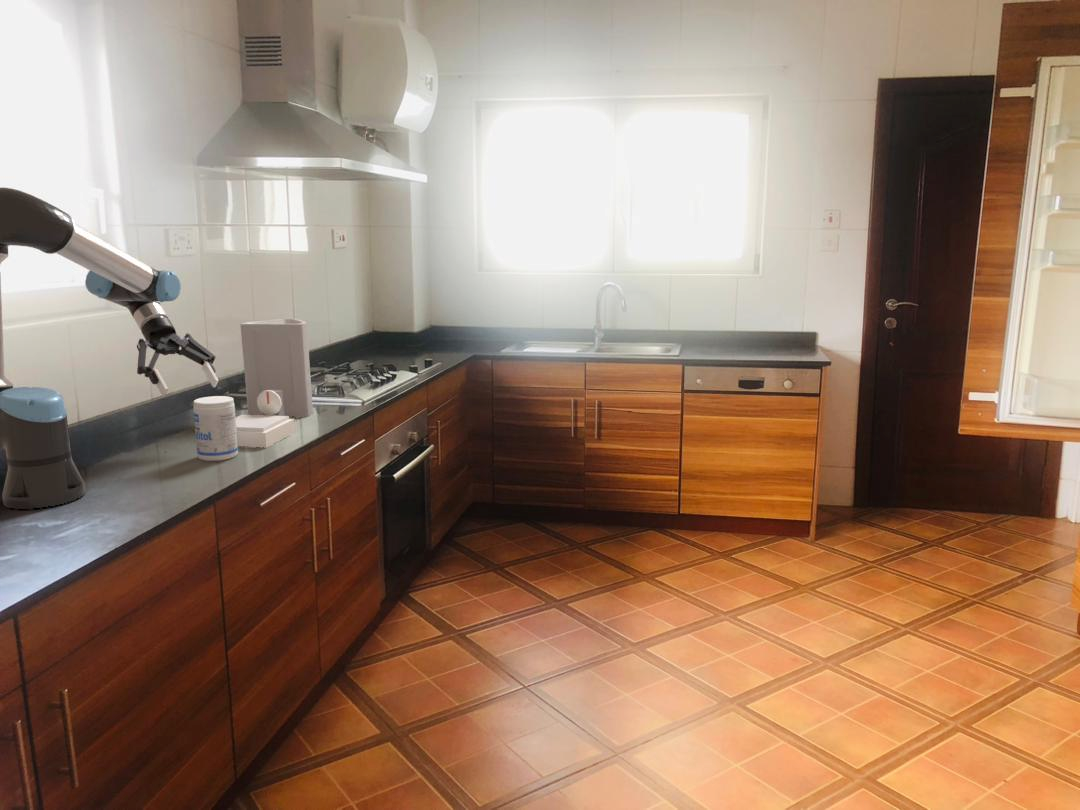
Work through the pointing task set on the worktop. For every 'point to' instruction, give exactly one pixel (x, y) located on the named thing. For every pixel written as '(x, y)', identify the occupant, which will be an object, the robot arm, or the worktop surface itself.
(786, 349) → the worktop surface
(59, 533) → the worktop surface
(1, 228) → the robot arm
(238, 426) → the kitchen scale
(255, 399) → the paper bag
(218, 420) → the supplement tub
